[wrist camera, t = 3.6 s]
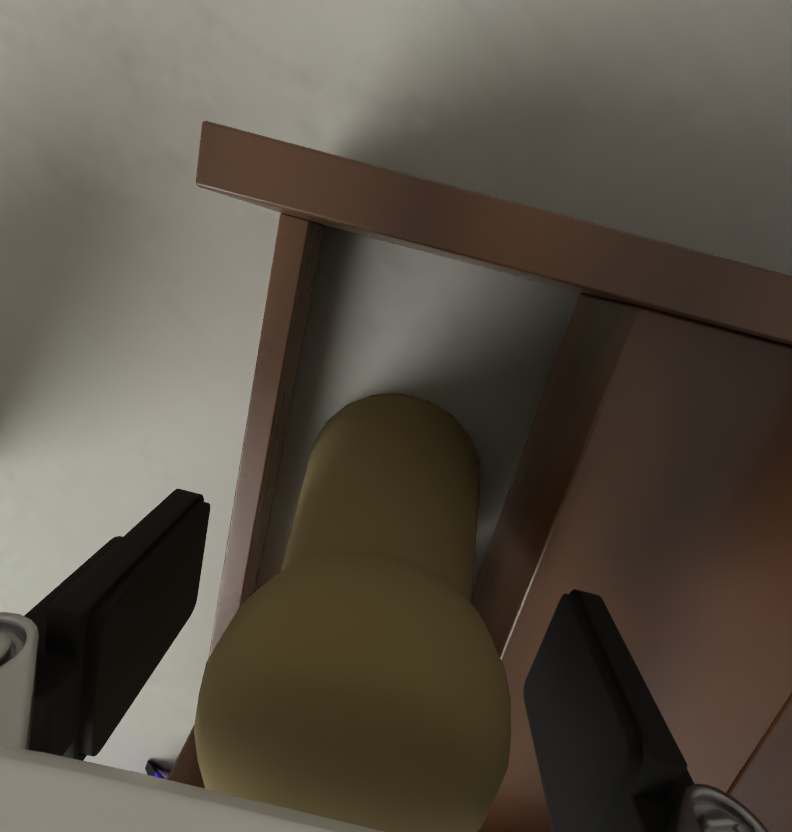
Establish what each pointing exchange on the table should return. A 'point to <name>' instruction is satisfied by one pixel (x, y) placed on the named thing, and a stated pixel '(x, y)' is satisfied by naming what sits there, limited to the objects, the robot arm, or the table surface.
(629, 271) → the spice rack
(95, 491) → the table surface
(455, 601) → the pepper shaker
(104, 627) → the robot arm
